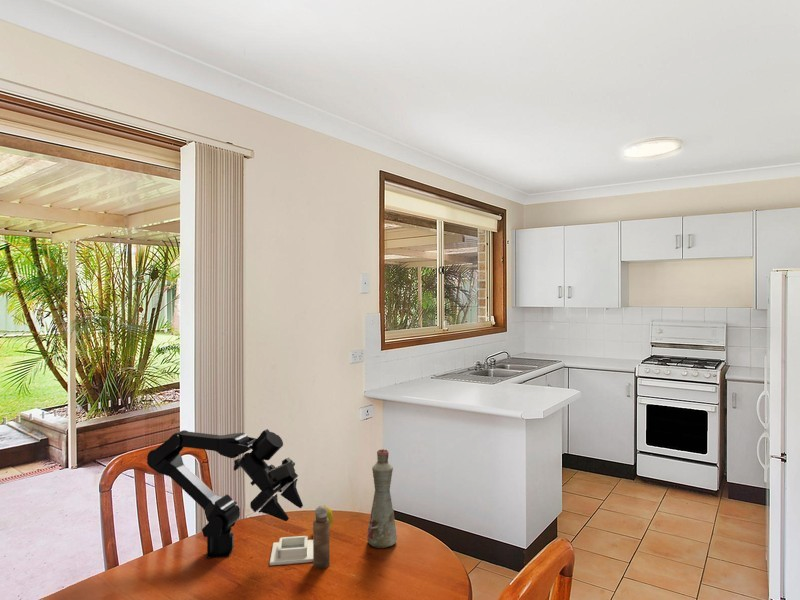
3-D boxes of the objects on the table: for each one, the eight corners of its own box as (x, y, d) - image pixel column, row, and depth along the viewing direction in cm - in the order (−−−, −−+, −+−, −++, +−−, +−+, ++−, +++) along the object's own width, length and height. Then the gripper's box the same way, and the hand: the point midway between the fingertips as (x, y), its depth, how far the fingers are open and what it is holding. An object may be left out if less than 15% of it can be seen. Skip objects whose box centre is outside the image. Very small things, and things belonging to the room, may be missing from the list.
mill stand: (269, 565, 142) (269, 554, 142) (273, 545, 154) (273, 535, 154) (314, 561, 144) (314, 550, 144) (314, 542, 156) (314, 532, 156)
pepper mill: (313, 569, 140) (312, 509, 140) (313, 561, 144) (313, 503, 145) (329, 568, 141) (329, 508, 141) (329, 560, 145) (329, 502, 145)
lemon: (331, 535, 161) (331, 509, 161) (313, 535, 161) (313, 509, 161) (334, 527, 166) (334, 502, 166) (317, 527, 166) (316, 502, 166)
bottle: (387, 552, 149) (386, 455, 149) (361, 545, 154) (360, 450, 154) (402, 540, 157) (402, 447, 157) (377, 534, 161) (377, 443, 162)
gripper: (260, 461, 137) (299, 507, 134) (291, 443, 155) (326, 483, 152) (233, 489, 139) (271, 535, 136) (267, 467, 157) (301, 507, 154)
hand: (294, 513), depth 145 cm, fingers open, 9 cm apart
